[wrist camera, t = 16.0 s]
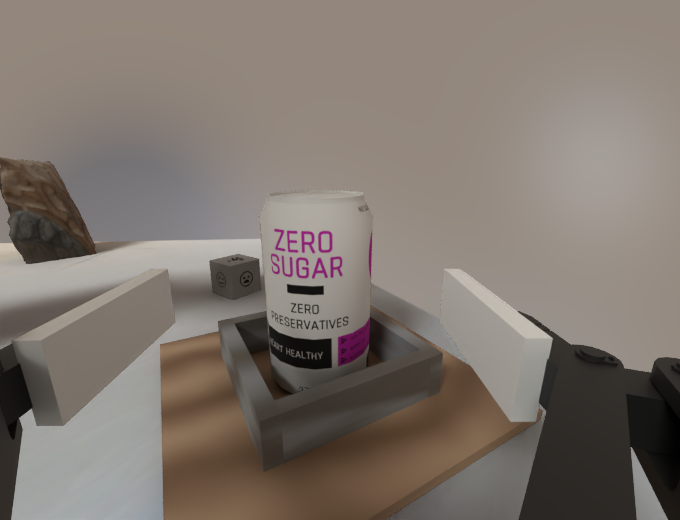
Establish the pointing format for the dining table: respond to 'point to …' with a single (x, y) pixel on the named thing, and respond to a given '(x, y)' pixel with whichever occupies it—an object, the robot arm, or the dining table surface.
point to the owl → (42, 213)
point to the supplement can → (316, 285)
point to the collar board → (317, 427)
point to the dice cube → (235, 276)
